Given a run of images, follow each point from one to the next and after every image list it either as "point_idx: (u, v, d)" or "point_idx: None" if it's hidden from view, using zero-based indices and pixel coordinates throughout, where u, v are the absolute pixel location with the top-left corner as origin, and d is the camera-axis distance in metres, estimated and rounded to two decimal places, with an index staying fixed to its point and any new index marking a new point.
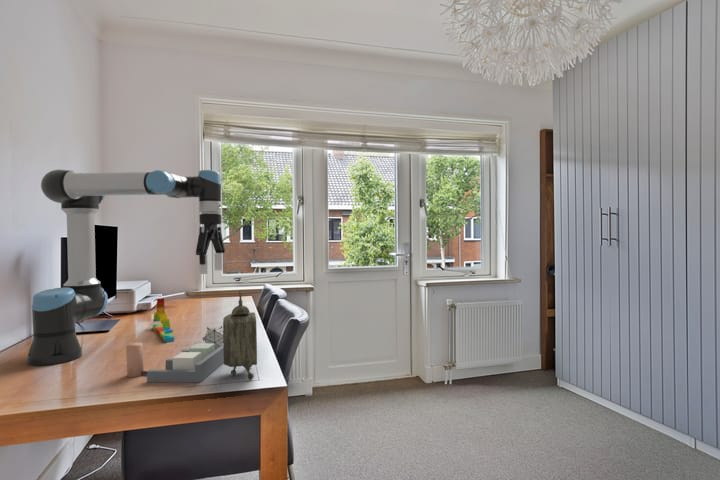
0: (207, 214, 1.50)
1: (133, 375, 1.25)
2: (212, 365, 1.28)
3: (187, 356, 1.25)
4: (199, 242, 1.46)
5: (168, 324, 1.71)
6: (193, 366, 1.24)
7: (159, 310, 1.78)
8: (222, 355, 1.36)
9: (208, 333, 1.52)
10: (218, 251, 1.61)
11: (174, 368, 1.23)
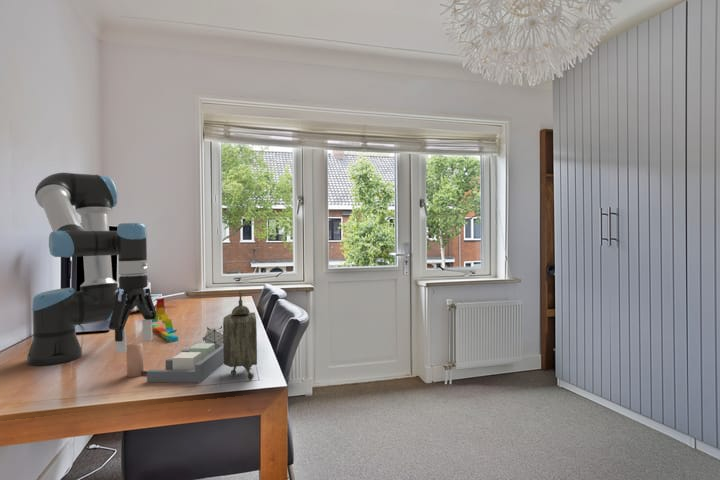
0: (127, 277, 1.23)
1: (133, 375, 1.25)
2: (212, 365, 1.28)
3: (187, 356, 1.25)
4: (113, 314, 1.18)
5: (170, 324, 1.71)
6: (193, 366, 1.24)
7: (159, 311, 1.78)
8: (222, 355, 1.36)
9: (208, 333, 1.52)
10: (147, 317, 1.34)
11: (174, 368, 1.23)
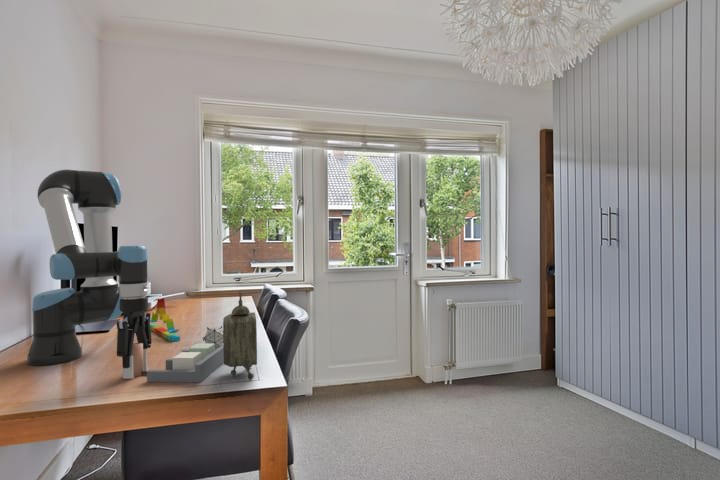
0: (128, 300, 1.23)
1: None
2: (212, 365, 1.28)
3: (187, 356, 1.25)
4: (118, 342, 1.20)
5: (172, 324, 1.71)
6: (193, 366, 1.24)
7: (160, 311, 1.78)
8: (222, 355, 1.36)
9: (208, 333, 1.52)
10: None
11: (174, 368, 1.23)
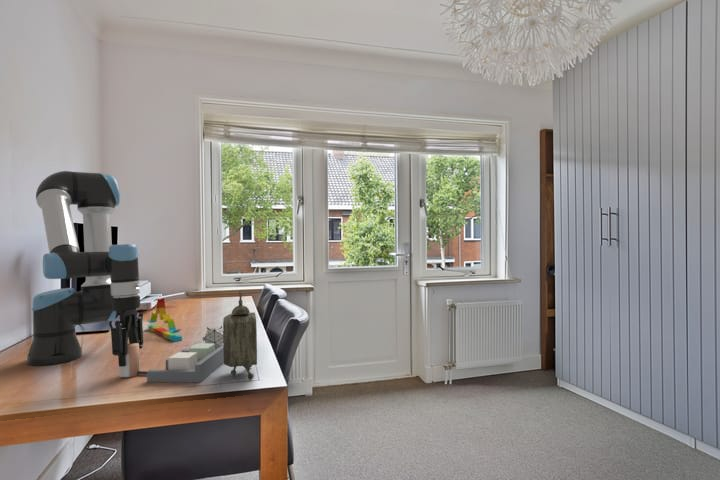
0: (119, 299, 1.23)
1: None
2: (212, 365, 1.28)
3: (183, 356, 1.24)
4: (113, 341, 1.21)
5: (173, 324, 1.72)
6: (189, 366, 1.23)
7: (160, 311, 1.77)
8: (222, 355, 1.36)
9: (208, 333, 1.52)
10: None
11: (170, 368, 1.23)
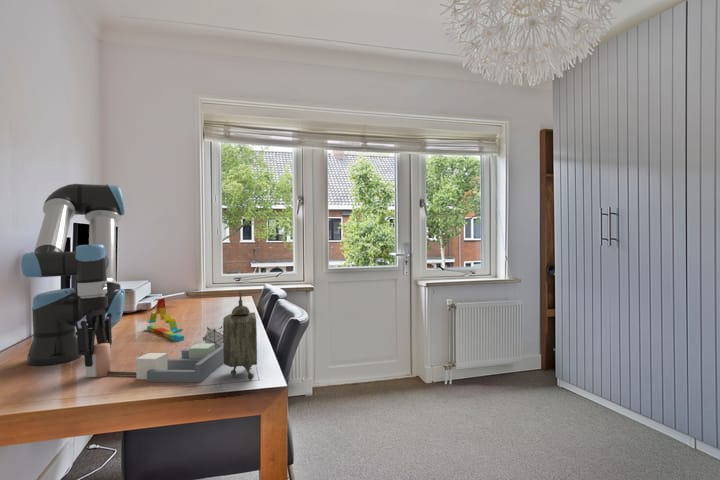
0: (86, 299, 1.24)
1: (99, 375, 1.25)
2: (212, 365, 1.28)
3: (151, 357, 1.24)
4: (79, 341, 1.21)
5: (175, 324, 1.72)
6: (156, 367, 1.23)
7: (160, 311, 1.77)
8: (222, 355, 1.36)
9: (208, 333, 1.52)
10: None
11: (138, 369, 1.23)
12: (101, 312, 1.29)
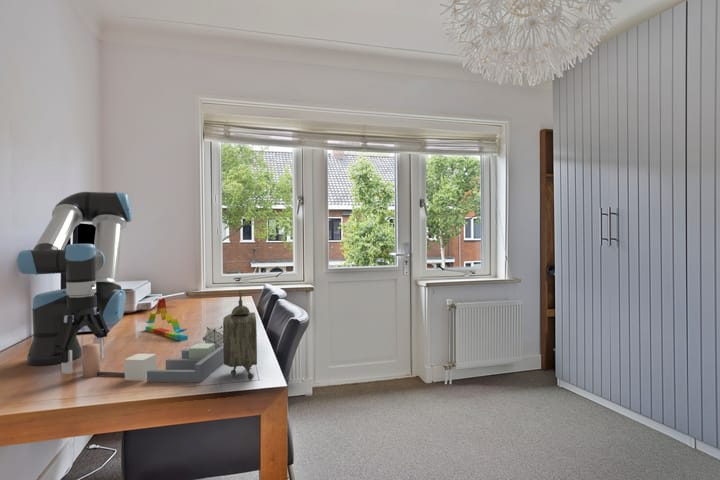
0: (74, 298, 1.24)
1: (88, 375, 1.25)
2: (212, 365, 1.28)
3: (139, 358, 1.23)
4: (59, 336, 1.19)
5: (177, 323, 1.72)
6: (144, 368, 1.22)
7: (161, 311, 1.77)
8: (222, 355, 1.36)
9: (208, 333, 1.52)
10: (98, 335, 1.35)
11: (126, 370, 1.22)
12: (90, 311, 1.29)
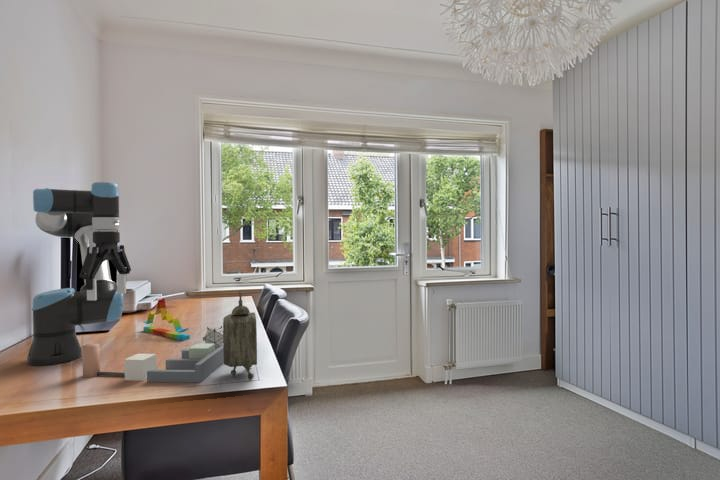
0: (99, 232, 1.33)
1: (88, 375, 1.25)
2: (212, 365, 1.28)
3: (139, 358, 1.23)
4: (84, 264, 1.28)
5: (178, 323, 1.72)
6: (144, 368, 1.22)
7: (161, 311, 1.77)
8: (222, 355, 1.36)
9: (208, 333, 1.52)
10: (121, 272, 1.44)
11: (126, 370, 1.22)
12: (113, 247, 1.38)
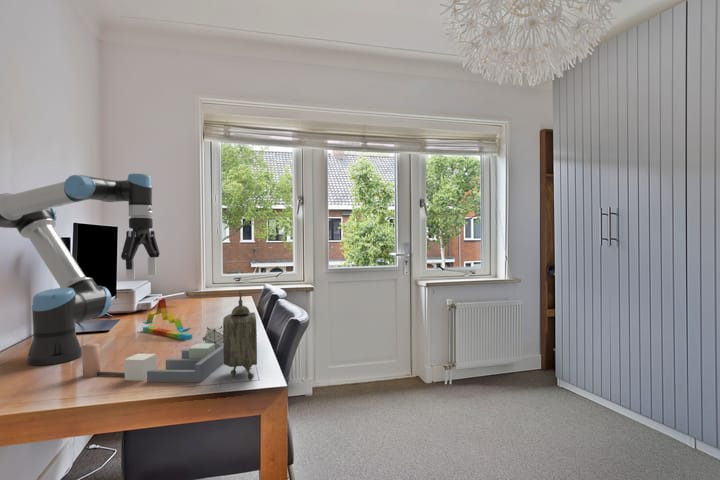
0: (136, 218, 1.49)
1: (88, 375, 1.25)
2: (212, 365, 1.28)
3: (139, 358, 1.23)
4: (125, 246, 1.44)
5: (180, 323, 1.73)
6: (144, 368, 1.22)
7: (162, 311, 1.77)
8: (222, 355, 1.36)
9: (208, 333, 1.52)
10: (152, 255, 1.59)
11: (126, 370, 1.22)
12: (146, 232, 1.54)
